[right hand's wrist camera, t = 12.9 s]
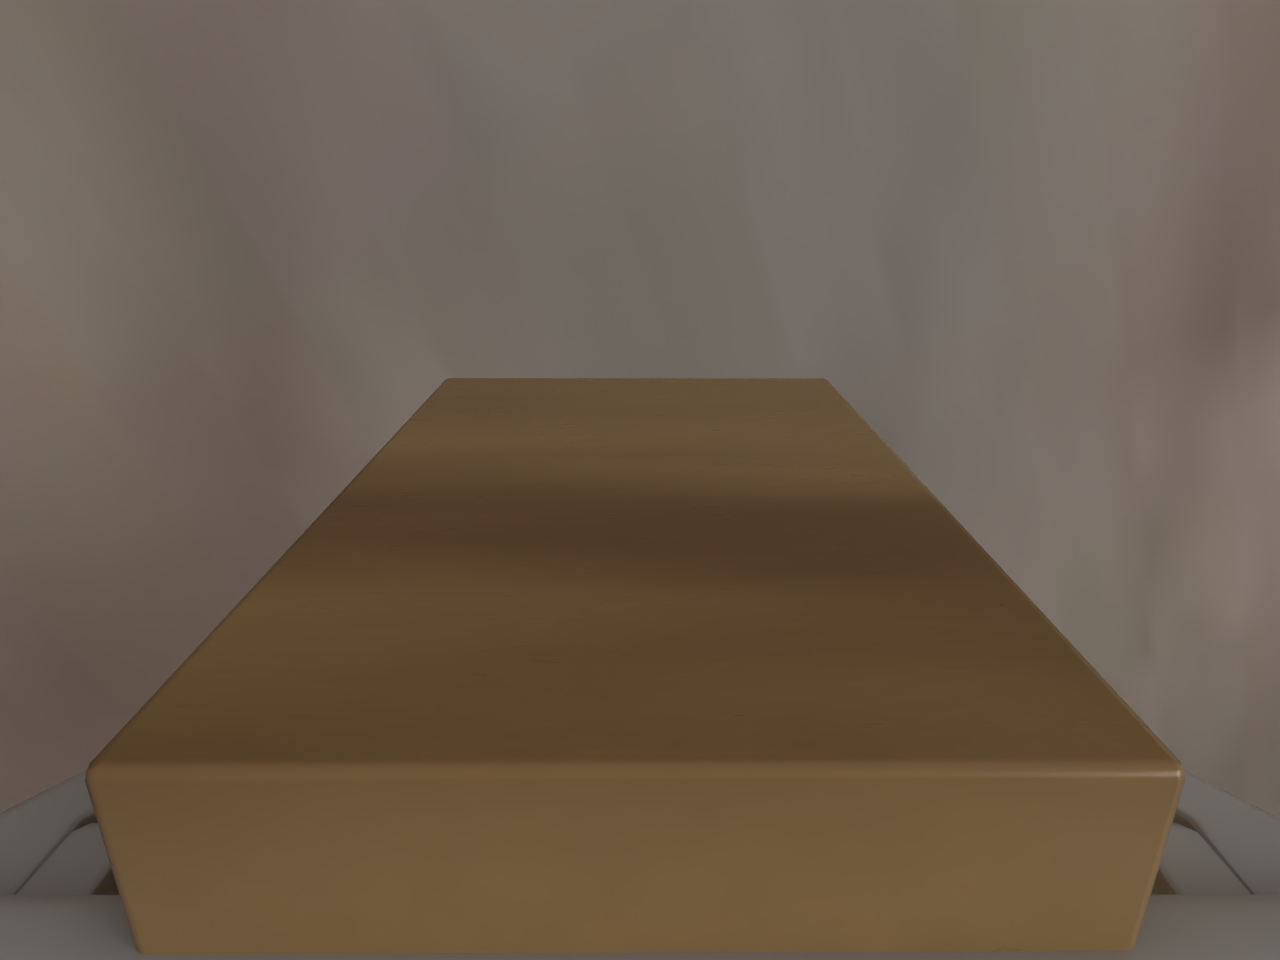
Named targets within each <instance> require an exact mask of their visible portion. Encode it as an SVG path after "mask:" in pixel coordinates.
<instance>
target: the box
mask: <svg viewBox="0 0 1280 960" xmlns="http://www.w3.org/2000/svg"><path fill="white" fill-rule="evenodd" d="M85 783H86V786H87V790H88V793H89V796H90V800H91V803H92V806H93V809H94V813H95V816H96V819H97V822H98V826H99V829H100V832H101V836H102V839H103V842H104V845H105V849H106V852H107V855H108V859H109V862H110V865H111V868H112V872H113V875H114V878H115V881H116V885H117V888H118V891H119V895H120V898H121V901H122V904H123V908H124V911H125V914H126V918H127V921H128V924H129V927H130V931H131V934H132V937H133V941H134V944H135V947H136V950H137V951H138V952H141V953H143V954H392V953H707V952H1023V951H1128V950H1130V949H1133V948H1135V945H1136V941H1137V938H1138V935H1139V931H1140V928H1141V925H1142V922H1143V918H1144V915H1145V912H1146V908H1147V905H1148V902H1149V898H1150V895H1151V892H1152V889H1153V885H1154V882H1155V879H1156V875H1157V872H1158V869H1159V866H1160V862H1161V859H1162V856H1163V852H1164V849H1165V846H1166V843H1167V839H1168V836H1169V833H1170V829H1171V826H1172V823H1173V820H1174V816H1175V813H1176V810H1177V806H1178V803H1179V800H1180V796H1181V793H1182V790H1183V787H1184V783H1185V773H1184V769H1183V766H1182V764H1181V762H1180V761H1179V760H1178V759H1177V758H1176V756H1175V755H1174V754H1173V753H1172V752H1171V751H1170V750H1169V749H1168V748H1167V747H1166V746H1165V745H1164V743H1163V742H1162V741H1161V740H1160V739H1159V738H1158V737H1157V736H1156V735H1155V734H1154V733H1153V732H1152V731H1151V729H1150V728H1149V727H1148V726H1147V725H1146V724H1145V723H1144V722H1143V721H1142V720H1141V719H1140V718H1139V716H1138V715H1137V714H1136V713H1135V712H1134V711H1133V710H1132V709H1131V708H1130V707H1129V706H1128V705H1127V703H1126V702H1125V701H1124V700H1123V699H1122V698H1121V697H1120V696H1119V695H1118V694H1117V693H1116V692H1115V691H1114V689H1113V688H1112V687H1111V686H1110V685H1109V684H1108V683H1107V682H1106V681H1105V680H1104V679H1103V678H1102V676H1101V675H1100V674H1099V673H1098V672H1097V671H1096V670H1095V669H1094V668H1093V667H1092V666H1091V665H1090V664H1089V662H1088V661H1087V660H1086V659H1085V658H1084V657H1083V656H1082V655H1081V654H1080V653H1079V652H1078V651H1077V649H1076V648H1075V647H1074V646H1073V645H1072V644H1071V643H1070V642H1069V641H1068V640H1067V639H1066V638H1065V636H1064V635H1063V634H1062V633H1061V632H1060V631H1059V630H1058V629H1057V628H1056V627H1055V626H1054V625H1053V624H1052V622H1051V621H1050V620H1049V619H1048V618H1047V617H1046V616H1045V615H1044V614H1043V613H1042V612H1041V611H1040V609H1039V608H1038V607H1037V606H1036V605H1035V604H1034V603H1033V602H1032V601H1031V600H1030V599H1029V598H1028V596H1027V595H1026V594H1025V593H1024V592H1023V591H1022V590H1021V589H1020V588H1019V587H1018V586H1017V585H1016V584H1015V582H1014V581H1013V580H1012V579H1011V578H1010V577H1009V576H1008V575H1007V574H1006V573H1005V572H1004V571H1003V569H1002V568H1001V567H1000V566H999V565H998V564H997V563H996V562H995V561H994V560H993V559H992V558H991V556H990V555H989V554H988V553H987V552H986V551H985V550H984V549H983V548H982V547H981V546H980V545H979V544H978V542H977V541H976V540H975V539H974V538H973V537H972V536H971V535H970V534H969V533H968V532H967V531H966V529H965V528H964V527H963V526H962V525H961V524H960V523H959V522H958V521H957V520H956V519H955V518H954V517H953V515H952V514H951V513H950V512H949V511H948V510H947V509H946V508H945V507H944V506H943V505H942V504H941V502H940V501H939V500H938V499H937V498H936V497H935V496H934V495H933V494H932V493H931V492H930V491H929V489H928V488H927V487H926V486H925V485H924V484H923V483H922V482H921V481H920V480H919V479H918V478H917V477H916V475H915V474H914V473H913V472H912V471H911V470H910V469H909V468H908V467H907V466H906V465H905V464H904V462H903V461H902V460H901V459H900V458H899V457H898V456H897V455H896V454H895V453H894V452H893V451H892V449H891V448H890V447H889V446H888V445H887V444H886V443H885V442H884V441H883V440H882V439H881V438H880V437H879V435H878V434H877V433H876V432H875V431H874V430H873V429H872V428H871V427H870V426H869V425H868V424H867V422H866V421H865V420H864V419H863V418H862V417H861V416H860V415H859V414H858V413H857V412H856V411H855V409H854V408H853V407H852V406H851V405H850V404H849V403H848V402H847V401H846V400H845V399H844V398H843V397H842V395H841V394H840V393H839V392H838V391H837V390H836V389H835V388H834V387H833V386H832V385H831V384H830V382H829V381H828V380H825V379H590V378H449V379H447V380H445V381H444V382H443V383H442V384H441V385H440V386H439V387H438V389H437V390H436V391H435V392H434V393H433V394H432V395H431V396H430V397H429V398H428V399H427V400H426V401H425V403H424V404H423V405H422V406H421V407H420V408H419V409H418V410H417V411H416V412H415V413H414V414H413V416H412V417H411V418H410V419H409V420H408V421H407V422H406V423H405V424H404V425H403V426H402V427H401V428H400V430H399V431H398V432H397V433H396V434H395V435H394V436H393V437H392V438H391V439H390V440H389V441H388V442H387V444H386V445H385V446H384V447H383V448H382V449H381V450H380V451H379V452H378V453H377V454H376V455H375V457H374V458H373V459H372V460H371V461H370V462H369V463H368V464H367V465H366V466H365V467H364V468H363V469H362V471H361V472H360V473H359V474H358V475H357V476H356V477H355V478H354V479H353V480H352V481H351V482H350V483H349V485H348V486H347V487H346V488H345V489H344V490H343V491H342V492H341V493H340V494H339V495H338V496H337V498H336V499H335V500H334V501H333V502H332V503H331V504H330V505H329V506H328V507H327V508H326V509H325V510H324V512H323V513H322V514H321V515H320V516H319V517H318V518H317V519H316V520H315V521H314V522H313V523H312V524H311V526H310V527H309V528H308V529H307V530H306V531H305V532H304V533H303V534H302V535H301V536H300V537H299V539H298V540H297V541H296V542H295V543H294V544H293V545H292V546H291V547H290V548H289V549H288V550H287V551H286V553H285V554H284V555H283V556H282V557H281V558H280V559H279V560H278V561H277V562H276V563H275V564H274V565H273V567H272V568H271V569H270V570H269V571H268V572H267V573H266V574H265V575H264V576H263V577H262V578H261V580H260V581H259V582H258V583H257V584H256V585H255V586H254V587H253V588H252V589H251V590H250V591H249V592H248V594H247V595H246V596H245V597H244V598H243V599H242V600H241V601H240V602H239V603H238V604H237V605H236V606H235V608H234V609H233V610H232V611H231V612H230V613H229V614H228V615H227V616H226V617H225V618H224V619H223V621H222V622H221V623H220V624H219V625H218V626H217V627H216V628H215V629H214V630H213V631H212V632H211V633H210V635H209V636H208V637H207V638H206V639H205V640H204V641H203V642H202V643H201V644H200V645H199V646H198V647H197V649H196V650H195V651H194V652H193V653H192V654H191V655H190V656H189V657H188V658H187V659H186V660H185V662H184V663H183V664H182V665H181V666H180V667H179V668H178V669H177V670H176V671H175V672H174V673H173V674H172V676H171V677H170V678H169V679H168V680H167V681H166V682H165V683H164V684H163V685H162V686H161V687H160V688H159V690H158V691H157V692H156V693H155V694H154V695H153V696H152V697H151V698H150V699H149V700H148V701H147V703H146V704H145V705H144V706H143V707H142V708H141V709H140V710H139V711H138V712H137V713H136V714H135V715H134V717H133V718H132V719H131V720H130V721H129V722H128V723H127V724H126V725H125V726H124V727H123V728H122V729H121V731H120V732H119V733H118V734H117V735H116V736H115V737H114V738H113V739H112V740H111V741H110V742H109V744H108V745H107V746H106V747H105V748H104V749H103V750H102V751H101V752H100V753H99V754H98V755H97V756H96V758H95V759H94V760H93V761H92V762H91V763H90V765H89V767H88V769H87V772H86V779H85Z"/></svg>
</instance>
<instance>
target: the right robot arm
mask: <svg viewBox="0 0 1280 960" xmlns="http://www.w3.org/2000/svg"><path fill="white" fill-rule="evenodd" d="M86 772H87V770H86V771H84V772H82V773H80V774H78V775H76V776H74V777H72V778H70V779H68V780H66V781H64V782H62V783H60V784H58V785H56V786H54V787H52V788H50V789H48V790H46V791H44V792H42V793H40V794H38V795H36V796H34V797H32V798H30V799H28V800H26V801H24V802H22V803H20V804H18V805H16V806H14V807H12V808H10V809H8V810H6V811H4V812H2V813H0V960H1280V819H1278V818H1276V817H1275V816H1273V815H1271V814H1269V813H1267V812H1265V811H1263V810H1261V809H1259V808H1257V807H1255V806H1253V805H1251V804H1249V803H1247V802H1245V801H1243V800H1241V799H1239V798H1237V797H1235V796H1233V795H1231V794H1229V793H1227V792H1225V791H1223V790H1221V789H1219V788H1217V787H1215V786H1213V785H1211V784H1209V783H1207V782H1205V781H1204V780H1202V779H1200V778H1198V777H1196V776H1194V775H1192V774H1190V773H1188V772H1186V771H1184V773H1185V783H1184V787H1183V790H1182V793H1181V796H1180V800H1179V803H1178V806H1177V810H1176V813H1175V816H1174V820H1173V823H1172V826H1171V829H1170V833H1169V836H1168V839H1167V843H1166V846H1165V849H1164V852H1163V856H1162V859H1161V862H1160V866H1159V869H1158V872H1157V875H1156V879H1155V882H1154V885H1153V889H1152V892H1151V895H1150V898H1149V902H1148V905H1147V908H1146V912H1145V915H1144V918H1143V922H1142V925H1141V928H1140V931H1139V935H1138V938H1137V941H1136V945H1135V948H1133V949H1130V950H1128V951H1023V952H707V953H392V954H143V953H141V952H138V951H137V950H136V947H135V944H134V941H133V937H132V934H131V931H130V927H129V924H128V921H127V918H126V914H125V911H124V908H123V904H122V901H121V898H120V895H119V891H118V888H117V885H116V881H115V878H114V875H113V872H112V868H111V865H110V862H109V859H108V855H107V852H106V849H105V845H104V842H103V839H102V836H101V832H100V829H99V826H98V822H97V819H96V816H95V813H94V809H93V806H92V803H91V800H90V796H89V793H88V790H87V786H86V783H85V779H86Z"/></svg>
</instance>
